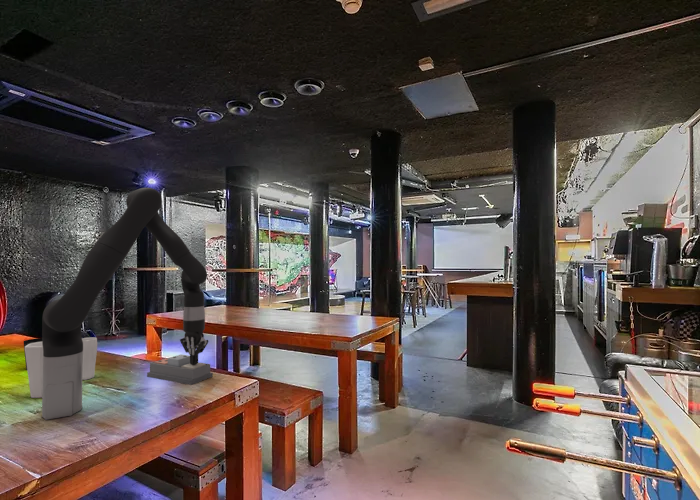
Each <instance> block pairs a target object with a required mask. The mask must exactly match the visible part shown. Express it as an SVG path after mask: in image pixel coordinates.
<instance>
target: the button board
mask: <svg viewBox="0 0 700 500" xmlns="http://www.w3.org/2000/svg"><path fill="white" fill-rule="evenodd" d="M167 358H168V357H167ZM167 358H162V360H164V359H167ZM160 360H161V359H160ZM160 360H158V361H160ZM156 361H157V360H156ZM156 361H153V362H149V371H148V372H146V377H147V378H153V379H156V380H157V379H158V380H163V381H168V382H175V383H180V384H185V385H190V386H191V385H195V384H197V383H200V382H202V380H203V381H205V380H208V379H211V378H213V372H211V363H206V362H205V364H206V365H205V366H202V367H199V368H196V369H187V368H181V366H180V367H175V366H169V365H168V364H165V365H163V364H157V363H154V362H156ZM198 363H200V361H198ZM186 365H187V364H186ZM210 377H211V378H210ZM207 378H208V379H207Z"/></svg>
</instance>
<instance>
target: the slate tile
mask: <svg viewBox="0 0 700 500" xmlns="http://www.w3.org/2000/svg"><path fill="white" fill-rule="evenodd" d="M167 358H168V365H169V366H175V367H180V366H183V365H186V364H190V355H189V354H188V355H187V354H178V355H175V356H171V357H167Z"/></svg>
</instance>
